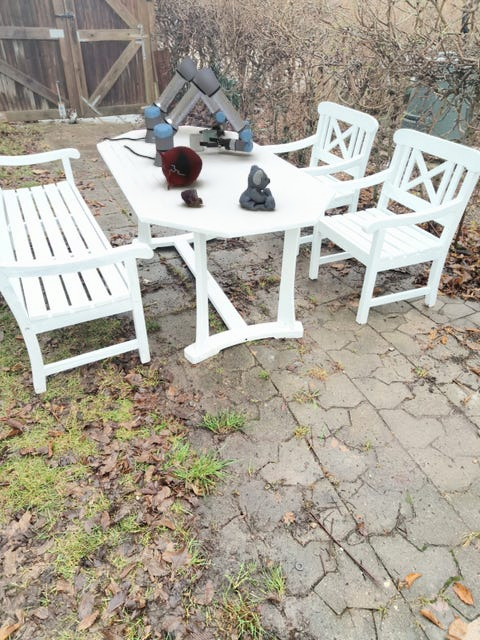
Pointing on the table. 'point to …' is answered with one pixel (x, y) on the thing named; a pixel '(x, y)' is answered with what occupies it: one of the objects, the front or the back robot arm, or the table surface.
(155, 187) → the table surface
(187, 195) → the rock
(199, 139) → the grey paneled bucket
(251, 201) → the koala plush
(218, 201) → the table surface
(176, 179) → the dark red pot
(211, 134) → the tub
